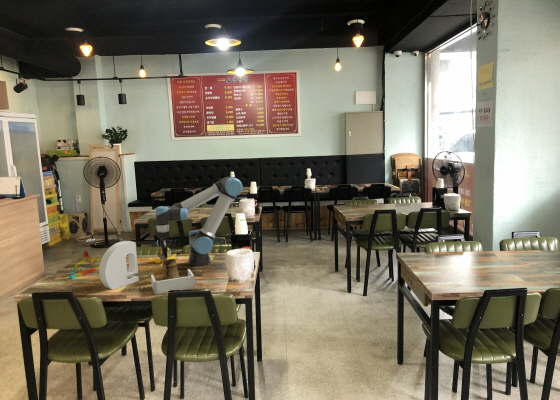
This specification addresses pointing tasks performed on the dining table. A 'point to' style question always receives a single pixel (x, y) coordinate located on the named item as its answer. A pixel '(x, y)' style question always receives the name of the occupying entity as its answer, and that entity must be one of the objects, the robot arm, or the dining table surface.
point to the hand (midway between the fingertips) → (165, 267)
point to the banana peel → (162, 260)
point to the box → (173, 284)
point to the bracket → (119, 265)
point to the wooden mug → (169, 267)
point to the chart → (86, 270)
